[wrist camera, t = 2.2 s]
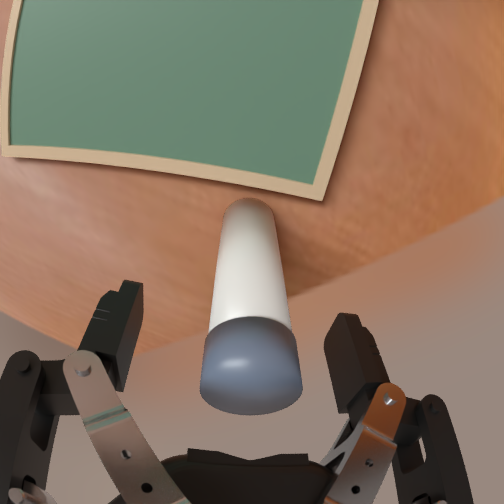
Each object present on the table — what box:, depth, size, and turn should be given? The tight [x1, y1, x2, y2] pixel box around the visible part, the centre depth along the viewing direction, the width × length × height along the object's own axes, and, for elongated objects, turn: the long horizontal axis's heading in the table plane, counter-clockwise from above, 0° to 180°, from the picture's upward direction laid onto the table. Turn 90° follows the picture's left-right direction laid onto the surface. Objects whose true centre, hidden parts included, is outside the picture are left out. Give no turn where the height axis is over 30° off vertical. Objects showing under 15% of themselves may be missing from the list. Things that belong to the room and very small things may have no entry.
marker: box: [200, 198, 303, 415], centre depth 15 cm, size 3×3×12 cm
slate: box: [0, 0, 379, 201], centre depth 12 cm, size 22×17×1 cm
